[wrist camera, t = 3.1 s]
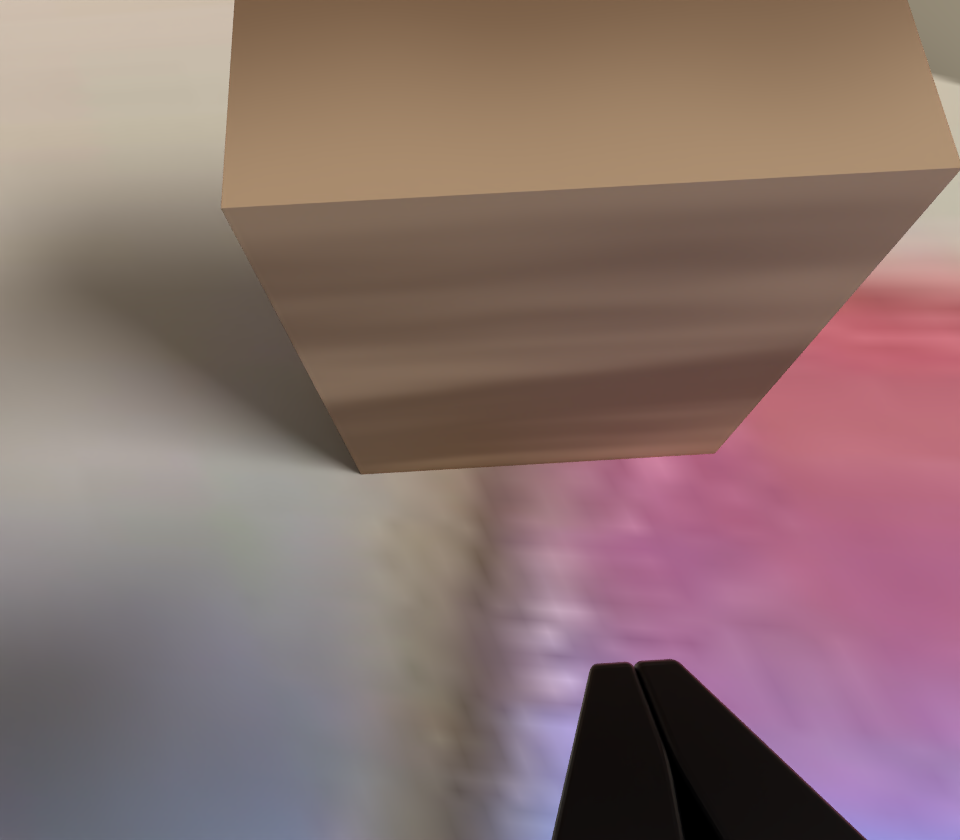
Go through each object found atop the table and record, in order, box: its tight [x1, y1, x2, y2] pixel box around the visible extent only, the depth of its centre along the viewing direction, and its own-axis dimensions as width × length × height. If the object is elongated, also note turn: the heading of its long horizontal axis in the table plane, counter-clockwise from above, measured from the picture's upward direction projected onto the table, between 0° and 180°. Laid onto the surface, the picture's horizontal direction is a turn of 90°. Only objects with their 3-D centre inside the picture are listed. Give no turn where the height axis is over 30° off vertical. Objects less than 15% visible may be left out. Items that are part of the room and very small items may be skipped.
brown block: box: [221, 0, 960, 474], centre depth 14 cm, size 3×8×10 cm, turn 94°
